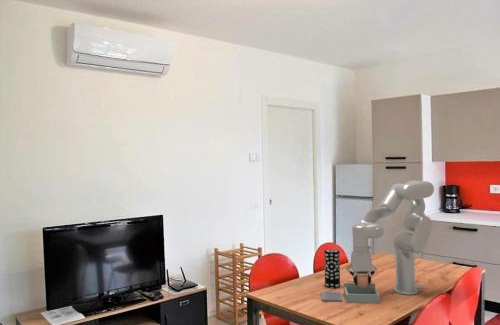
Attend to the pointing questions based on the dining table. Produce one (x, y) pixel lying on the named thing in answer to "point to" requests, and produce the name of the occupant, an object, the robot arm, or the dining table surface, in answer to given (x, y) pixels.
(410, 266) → the robot arm
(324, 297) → the slate tile
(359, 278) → the pot
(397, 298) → the dining table surface
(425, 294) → the dining table surface
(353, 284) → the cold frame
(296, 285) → the dining table surface
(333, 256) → the spotted tube
